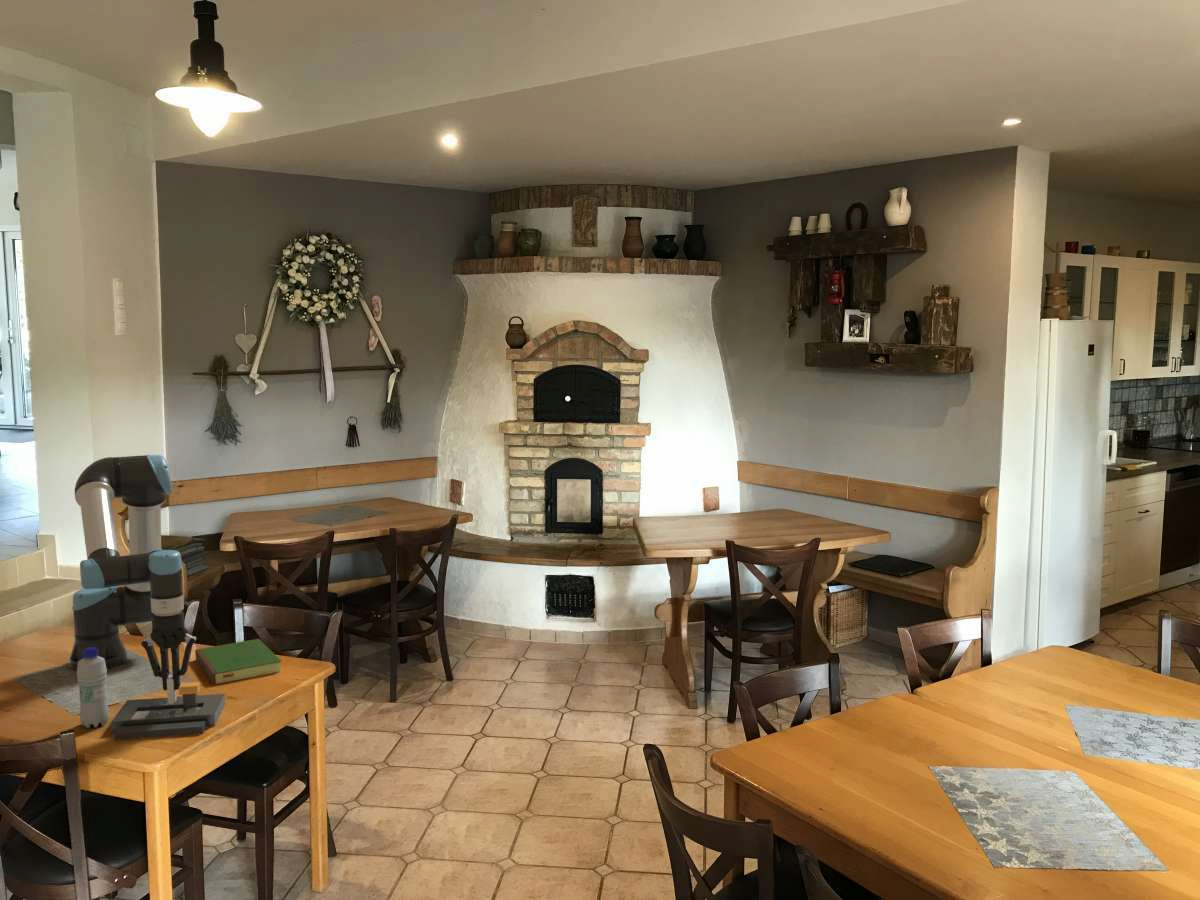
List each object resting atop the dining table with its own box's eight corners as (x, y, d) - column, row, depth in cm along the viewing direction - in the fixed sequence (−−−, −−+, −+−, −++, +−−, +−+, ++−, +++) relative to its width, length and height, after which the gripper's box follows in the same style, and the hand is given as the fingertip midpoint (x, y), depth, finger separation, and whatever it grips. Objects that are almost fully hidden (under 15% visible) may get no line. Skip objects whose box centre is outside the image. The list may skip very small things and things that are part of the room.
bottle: (97, 731, 233) (92, 653, 230) (73, 728, 234) (68, 651, 232) (116, 720, 239) (111, 644, 237) (93, 717, 241) (88, 642, 238)
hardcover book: (195, 661, 284) (195, 649, 284) (259, 650, 294) (259, 638, 294) (214, 687, 264) (214, 674, 263) (282, 674, 274) (281, 661, 274)
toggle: (182, 708, 243) (181, 682, 242) (201, 707, 243) (199, 681, 243) (180, 713, 240) (178, 687, 239) (198, 711, 241) (197, 685, 240)
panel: (127, 711, 245) (127, 699, 245) (225, 704, 250) (224, 692, 250) (111, 733, 232) (110, 721, 231) (214, 725, 236) (214, 713, 236)
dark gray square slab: (139, 706, 248) (138, 699, 248) (219, 700, 252) (219, 694, 252) (115, 740, 228) (114, 732, 228) (202, 733, 232) (202, 726, 232)
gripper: (135, 617, 232) (140, 709, 235) (191, 615, 235) (196, 705, 238) (144, 609, 240) (148, 697, 243) (198, 606, 242) (202, 694, 245)
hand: (172, 701), depth 240 cm, fingers closed
